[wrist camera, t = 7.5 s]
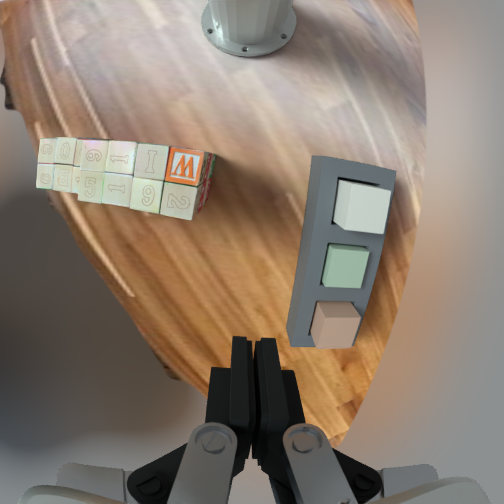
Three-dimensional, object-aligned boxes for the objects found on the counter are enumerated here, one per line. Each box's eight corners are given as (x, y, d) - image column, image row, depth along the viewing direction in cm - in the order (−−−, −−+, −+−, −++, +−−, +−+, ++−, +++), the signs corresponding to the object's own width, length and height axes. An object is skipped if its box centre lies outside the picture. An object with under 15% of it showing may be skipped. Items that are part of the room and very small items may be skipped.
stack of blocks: (73, 178, 33) (19, 192, 21) (78, 137, 31) (24, 136, 19) (208, 200, 35) (192, 222, 24) (218, 153, 33) (205, 151, 22)
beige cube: (315, 297, 36) (325, 317, 32) (348, 298, 37) (361, 317, 32) (308, 327, 38) (316, 348, 33) (340, 327, 38) (350, 347, 34)
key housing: (312, 155, 33) (324, 155, 28) (378, 168, 34) (398, 171, 29) (286, 327, 42) (291, 349, 37) (343, 327, 43) (354, 348, 37)
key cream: (336, 179, 31) (351, 183, 26) (371, 185, 31) (391, 190, 27) (330, 218, 33) (344, 229, 28) (365, 223, 33) (383, 234, 28)
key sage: (321, 236, 36) (332, 248, 31) (354, 239, 36) (369, 251, 32) (315, 270, 38) (325, 286, 33) (347, 272, 38) (360, 288, 33)
